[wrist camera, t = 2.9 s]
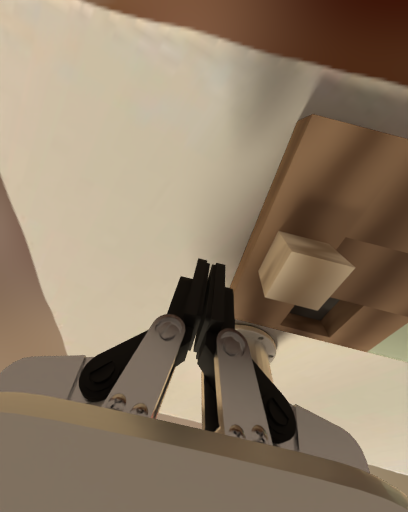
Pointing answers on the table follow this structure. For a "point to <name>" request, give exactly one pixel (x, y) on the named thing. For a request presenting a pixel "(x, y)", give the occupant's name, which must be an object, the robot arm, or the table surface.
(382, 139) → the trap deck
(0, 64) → the table surface
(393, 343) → the pad
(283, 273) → the maple block
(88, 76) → the table surface
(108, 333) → the table surface
